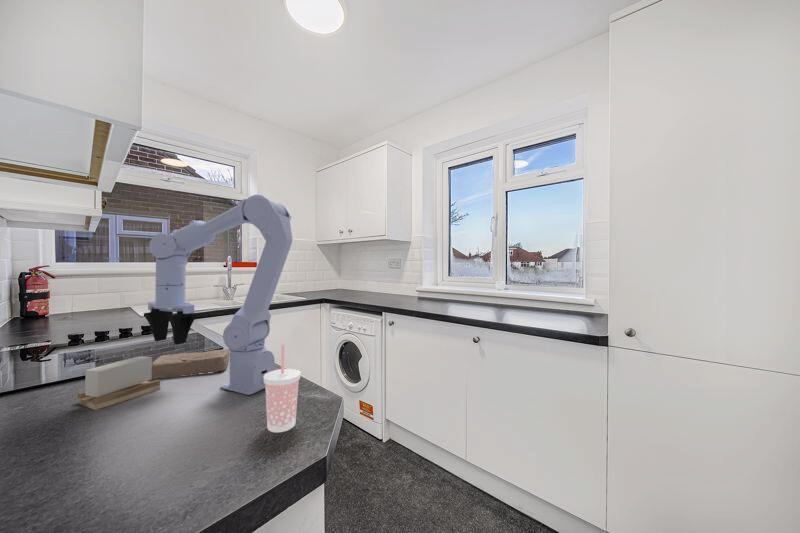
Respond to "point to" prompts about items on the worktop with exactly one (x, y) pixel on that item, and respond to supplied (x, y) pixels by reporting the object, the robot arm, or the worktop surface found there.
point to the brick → (190, 363)
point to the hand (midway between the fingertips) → (170, 341)
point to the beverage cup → (281, 397)
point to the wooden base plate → (118, 395)
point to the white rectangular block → (117, 376)
